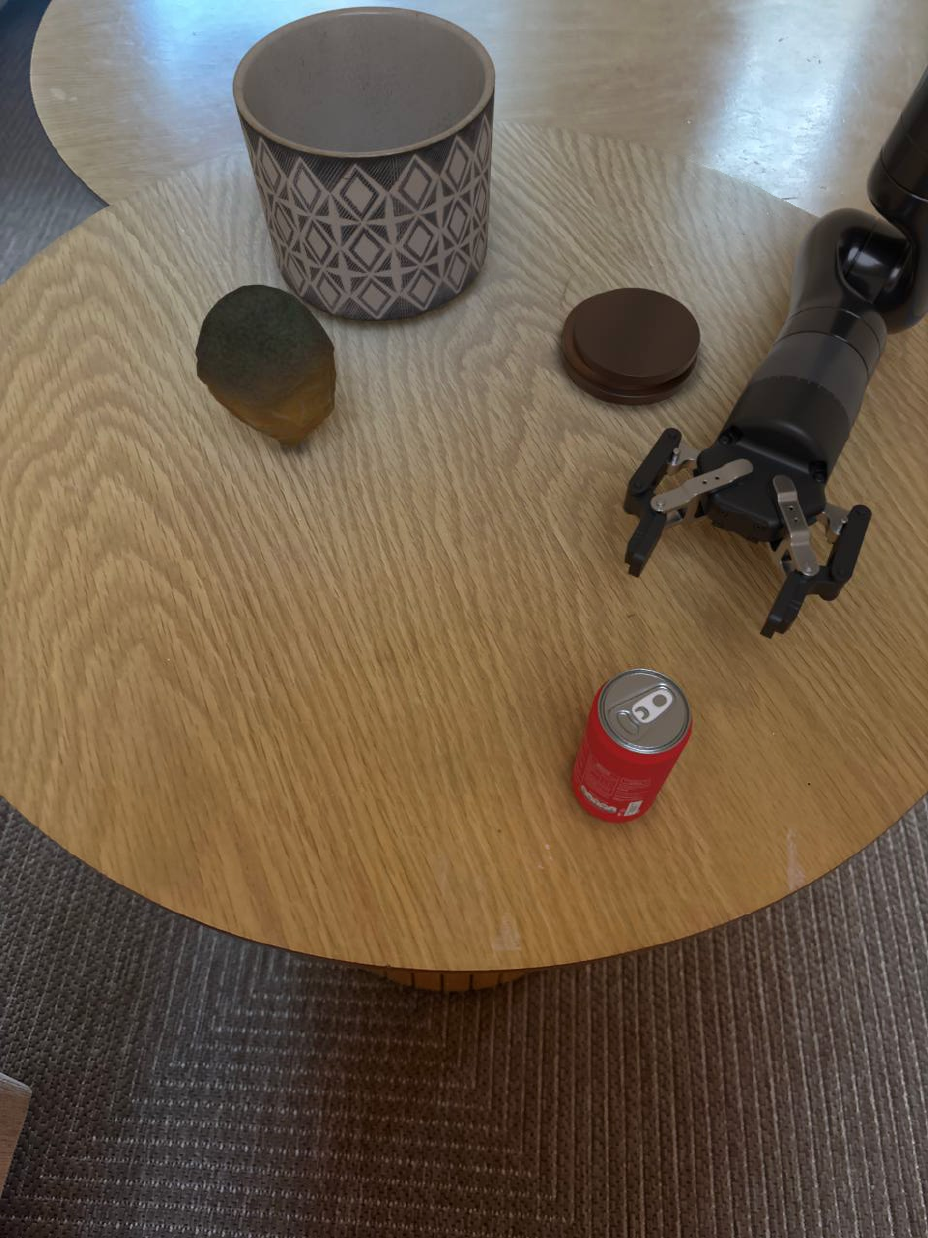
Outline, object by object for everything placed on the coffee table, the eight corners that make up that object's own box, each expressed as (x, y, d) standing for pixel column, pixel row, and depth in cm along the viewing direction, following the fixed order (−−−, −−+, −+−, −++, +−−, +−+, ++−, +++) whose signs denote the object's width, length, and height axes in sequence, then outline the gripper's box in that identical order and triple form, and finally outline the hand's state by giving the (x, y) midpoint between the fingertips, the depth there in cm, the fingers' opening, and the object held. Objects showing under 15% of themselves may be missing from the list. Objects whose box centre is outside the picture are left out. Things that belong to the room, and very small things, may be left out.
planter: (489, 342, 74) (492, 157, 60) (261, 338, 75) (210, 153, 60) (493, 196, 84) (497, 6, 69) (291, 193, 84) (253, 4, 70)
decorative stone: (350, 412, 70) (322, 252, 57) (351, 473, 68) (322, 318, 54) (228, 421, 70) (172, 261, 57) (224, 482, 67) (164, 328, 54)
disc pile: (702, 321, 75) (710, 293, 73) (685, 417, 70) (694, 389, 67) (574, 300, 77) (577, 271, 74) (548, 391, 71) (551, 364, 69)
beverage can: (553, 777, 55) (572, 698, 45) (616, 733, 57) (649, 646, 46) (606, 845, 53) (639, 778, 43) (670, 797, 55) (717, 721, 44)
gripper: (706, 337, 58) (599, 514, 51) (923, 419, 54) (840, 620, 47) (682, 416, 64) (584, 582, 57) (874, 493, 61) (795, 680, 54)
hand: (700, 599), depth 52 cm, fingers open, 8 cm apart
